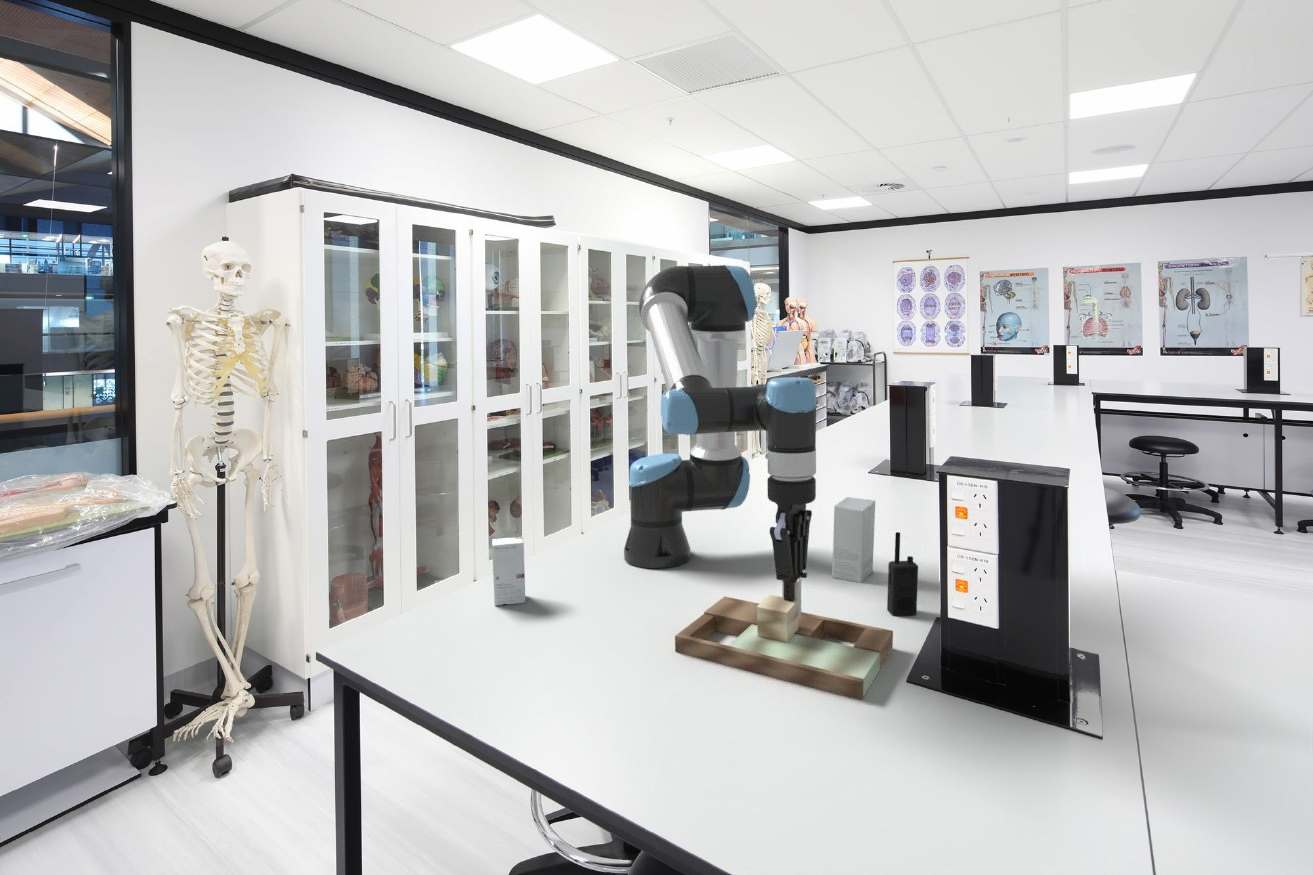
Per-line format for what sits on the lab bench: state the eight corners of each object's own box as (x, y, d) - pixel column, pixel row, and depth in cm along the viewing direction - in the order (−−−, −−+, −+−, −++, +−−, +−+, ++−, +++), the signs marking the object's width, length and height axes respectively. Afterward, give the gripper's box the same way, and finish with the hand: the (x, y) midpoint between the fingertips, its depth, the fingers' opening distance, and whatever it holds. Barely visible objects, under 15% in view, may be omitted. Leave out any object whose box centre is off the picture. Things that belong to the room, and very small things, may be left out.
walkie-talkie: (910, 608, 127) (913, 529, 124) (918, 616, 123) (921, 534, 121) (884, 609, 127) (887, 530, 124) (891, 617, 123) (894, 535, 121)
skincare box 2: (844, 566, 150) (846, 496, 147) (875, 571, 146) (877, 499, 143) (831, 578, 143) (832, 504, 140) (862, 584, 139) (864, 509, 137)
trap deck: (675, 651, 112) (674, 634, 112) (724, 611, 127) (724, 596, 127) (861, 700, 96) (861, 680, 96) (892, 648, 111) (893, 630, 111)
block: (757, 635, 111) (756, 606, 110) (769, 622, 115) (768, 594, 114) (787, 642, 108) (786, 612, 107) (798, 628, 112) (798, 600, 111)
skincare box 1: (494, 606, 132) (490, 545, 130) (494, 598, 136) (490, 538, 135) (527, 603, 134) (523, 542, 132) (526, 594, 138) (522, 535, 136)
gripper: (783, 466, 117) (784, 598, 120) (753, 482, 106) (754, 627, 110) (827, 469, 113) (826, 606, 117) (800, 486, 102) (800, 636, 106)
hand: (791, 616), depth 113 cm, fingers closed
